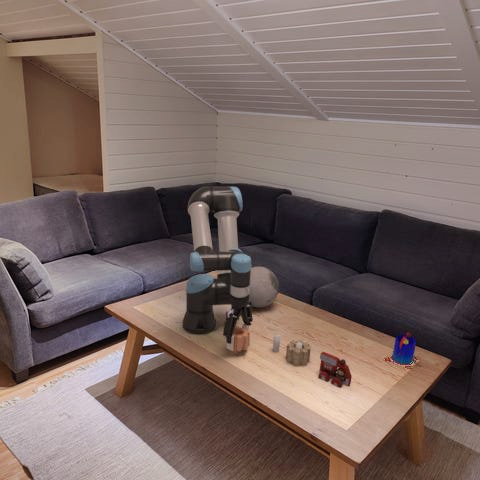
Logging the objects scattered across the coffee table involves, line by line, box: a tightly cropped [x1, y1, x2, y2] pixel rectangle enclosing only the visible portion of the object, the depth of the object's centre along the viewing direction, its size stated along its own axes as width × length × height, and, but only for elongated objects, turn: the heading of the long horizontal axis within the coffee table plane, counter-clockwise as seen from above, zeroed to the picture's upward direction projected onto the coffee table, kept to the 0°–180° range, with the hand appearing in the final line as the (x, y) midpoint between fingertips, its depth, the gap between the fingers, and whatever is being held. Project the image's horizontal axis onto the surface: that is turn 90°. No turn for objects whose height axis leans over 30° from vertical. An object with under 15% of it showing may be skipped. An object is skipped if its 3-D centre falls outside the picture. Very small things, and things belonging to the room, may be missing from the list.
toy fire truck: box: [317, 351, 352, 389], centre depth 160 cm, size 7×12×10 cm, turn 51°
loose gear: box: [225, 325, 251, 352], centre depth 177 cm, size 9×9×6 cm
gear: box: [285, 339, 312, 367], centre depth 171 cm, size 9×9×6 cm
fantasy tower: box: [383, 332, 419, 369], centre depth 175 cm, size 12×12×12 cm
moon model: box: [249, 266, 280, 309], centre depth 216 cm, size 20×20×20 cm
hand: (237, 344), depth 178 cm, fingers closed on loose gear, 9 cm apart
